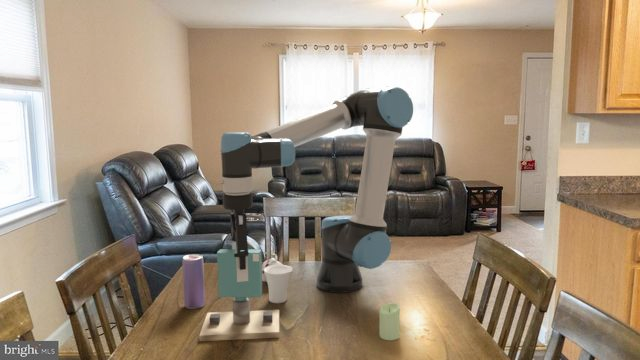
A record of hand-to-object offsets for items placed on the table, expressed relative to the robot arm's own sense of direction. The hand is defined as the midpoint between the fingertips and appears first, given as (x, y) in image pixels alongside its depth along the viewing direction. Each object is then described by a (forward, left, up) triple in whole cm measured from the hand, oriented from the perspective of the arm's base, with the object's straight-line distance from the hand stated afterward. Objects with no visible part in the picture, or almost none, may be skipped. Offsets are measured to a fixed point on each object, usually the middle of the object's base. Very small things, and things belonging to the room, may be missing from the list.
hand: (240, 272), depth 126 cm
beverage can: (+15, -16, -15) cm, 27 cm away
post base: (0, 0, -15) cm, 15 cm away
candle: (-38, +9, -15) cm, 42 cm away
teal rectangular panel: (0, 0, -7) cm, 7 cm away
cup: (-10, -18, -15) cm, 26 cm away
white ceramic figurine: (-8, -34, -16) cm, 38 cm away
